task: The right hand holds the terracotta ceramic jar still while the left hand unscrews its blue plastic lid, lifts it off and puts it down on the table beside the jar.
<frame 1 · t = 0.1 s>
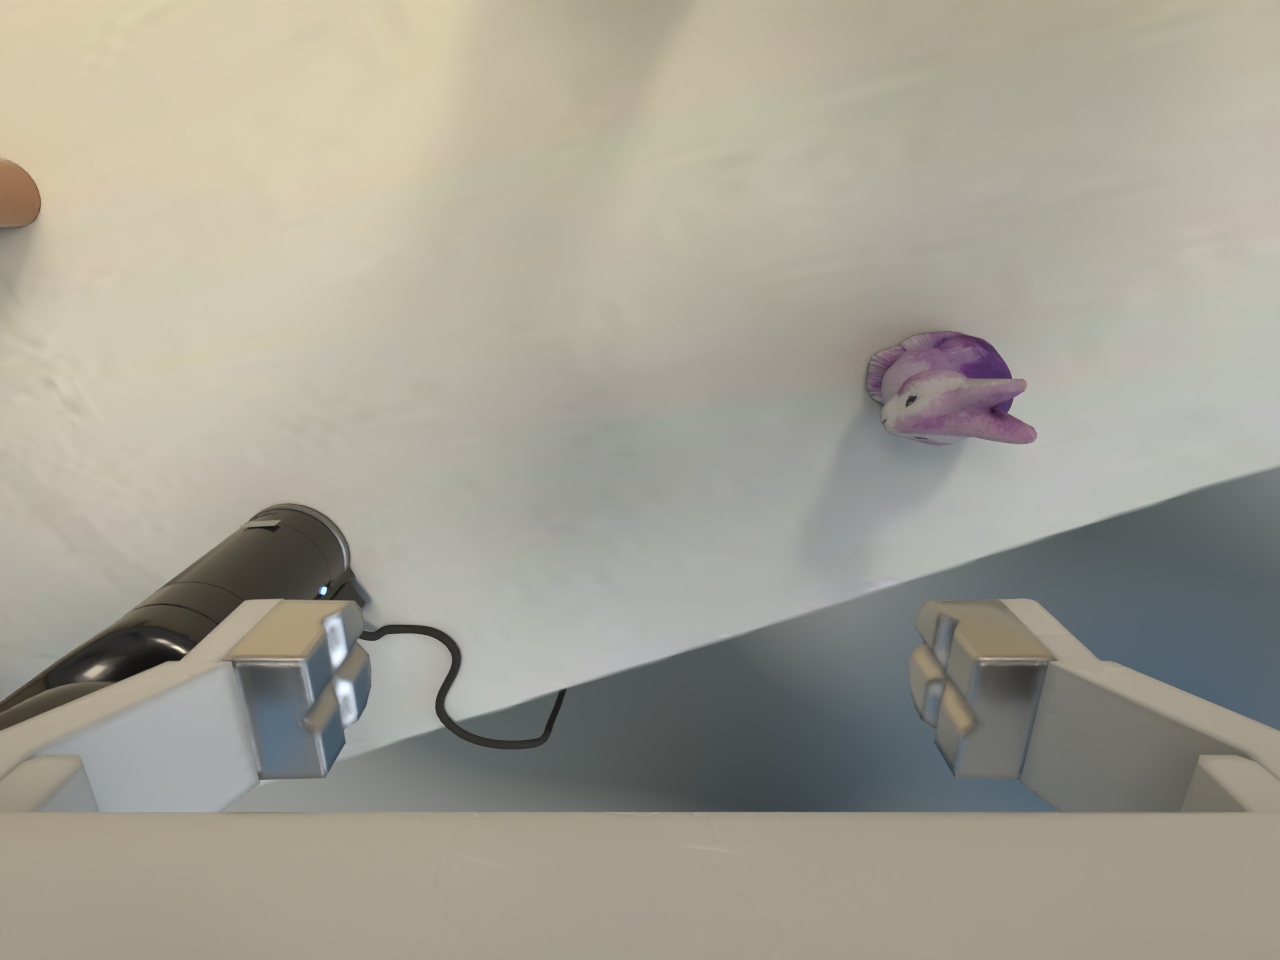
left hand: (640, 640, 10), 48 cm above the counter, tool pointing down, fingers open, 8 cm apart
jar: (7, 193, 53), on the counter
figurine: (918, 381, 57), on the counter
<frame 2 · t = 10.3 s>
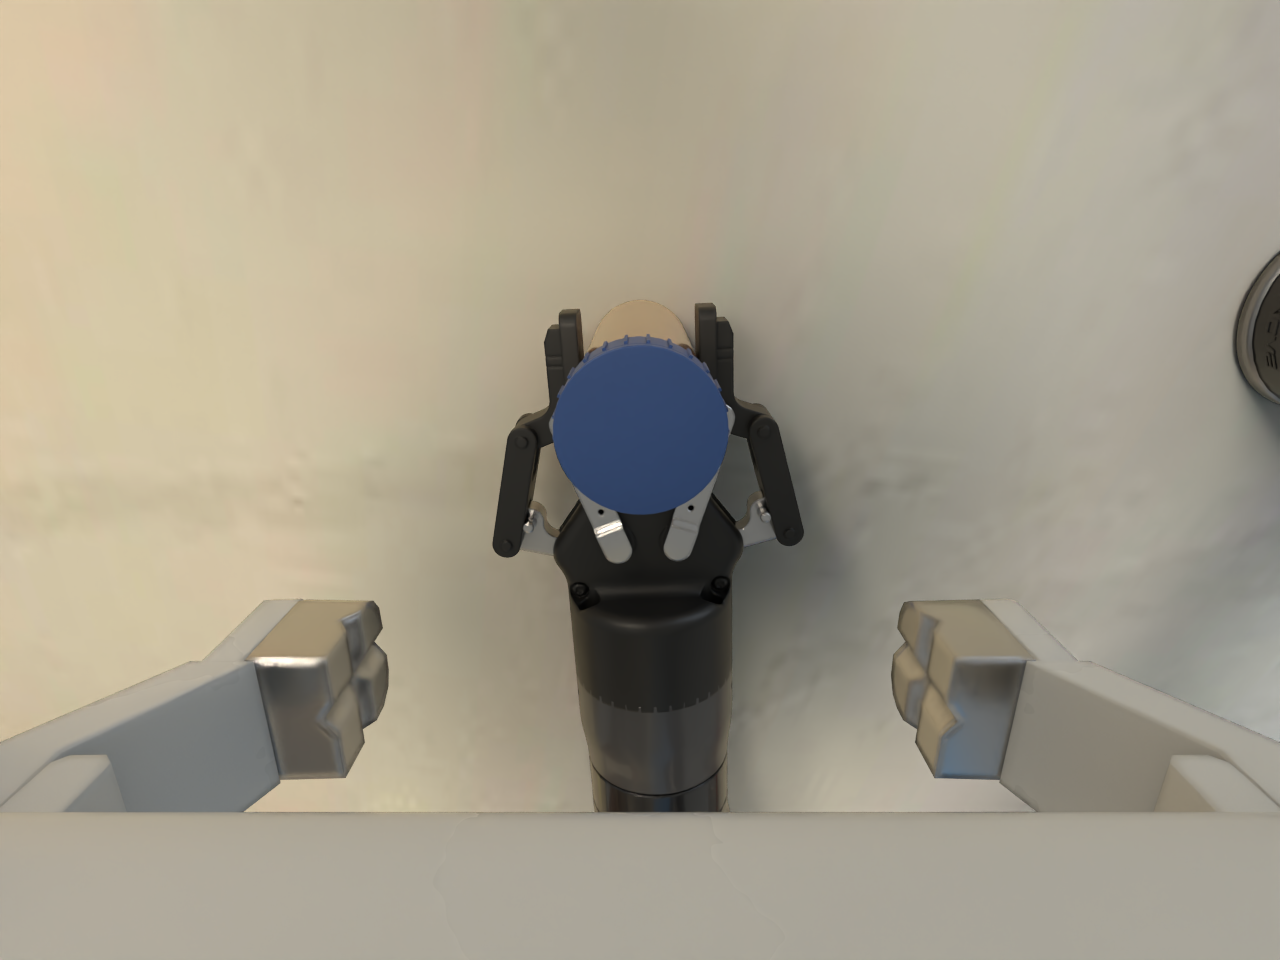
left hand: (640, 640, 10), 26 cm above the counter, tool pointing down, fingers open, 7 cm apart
right hand: (636, 310, 28), fingers closed on jar, 5 cm apart
jar: (640, 348, 35), on the counter, touching right hand
lid: (640, 430, 21), point 15 cm above the counter, screwed on, not yet turned
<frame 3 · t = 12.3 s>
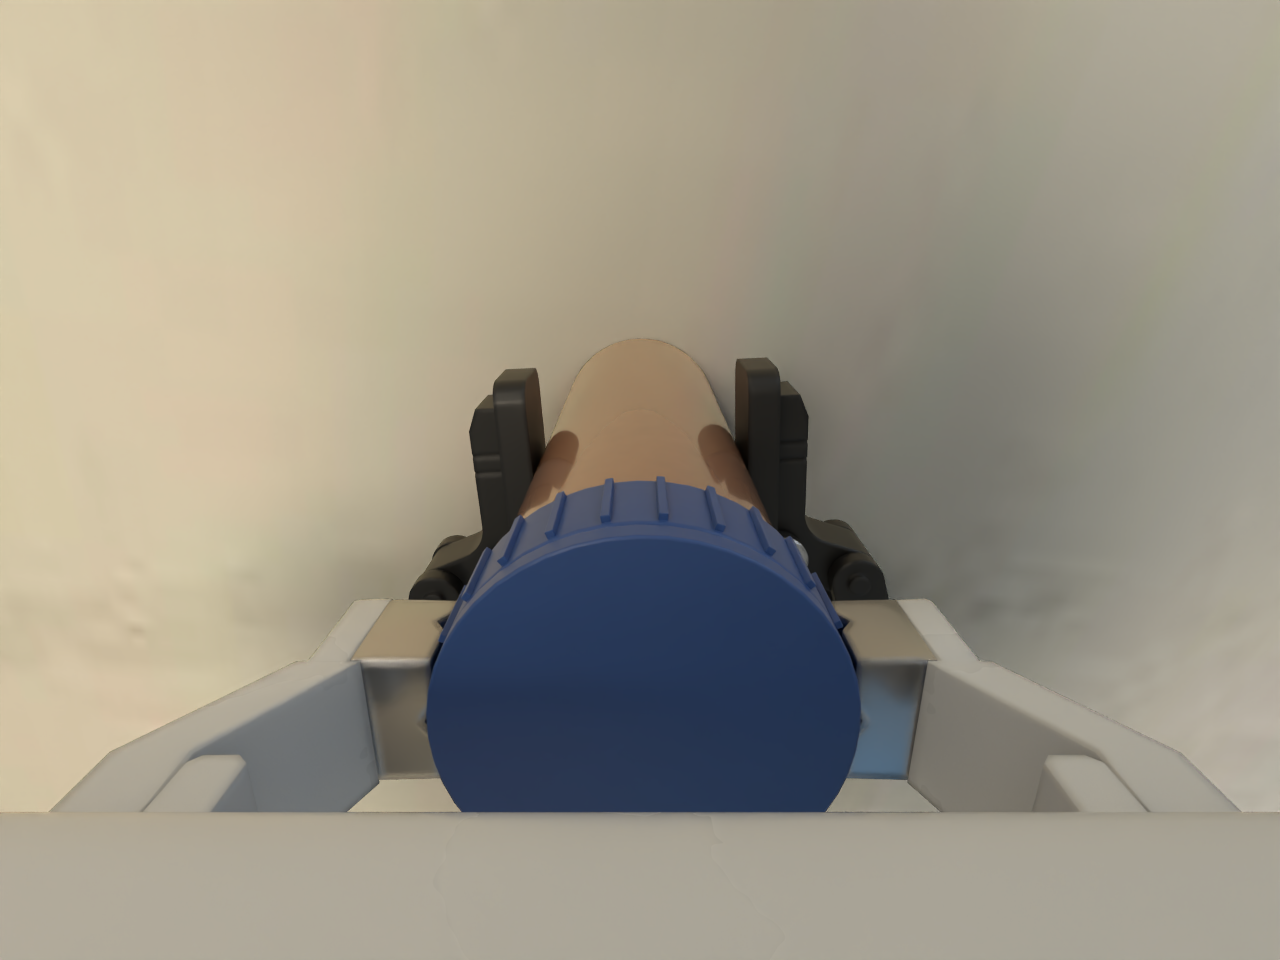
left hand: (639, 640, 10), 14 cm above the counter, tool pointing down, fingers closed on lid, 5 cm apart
jar: (641, 411, 23), on the counter, touching right hand
lid: (643, 715, 9), point 15 cm above the counter, screwed on, not yet turned, touching left hand
when the left hand's fingers open (14 cm above the counter, at t = 13.9 s): lid stays where it is, point 15 cm above the counter.
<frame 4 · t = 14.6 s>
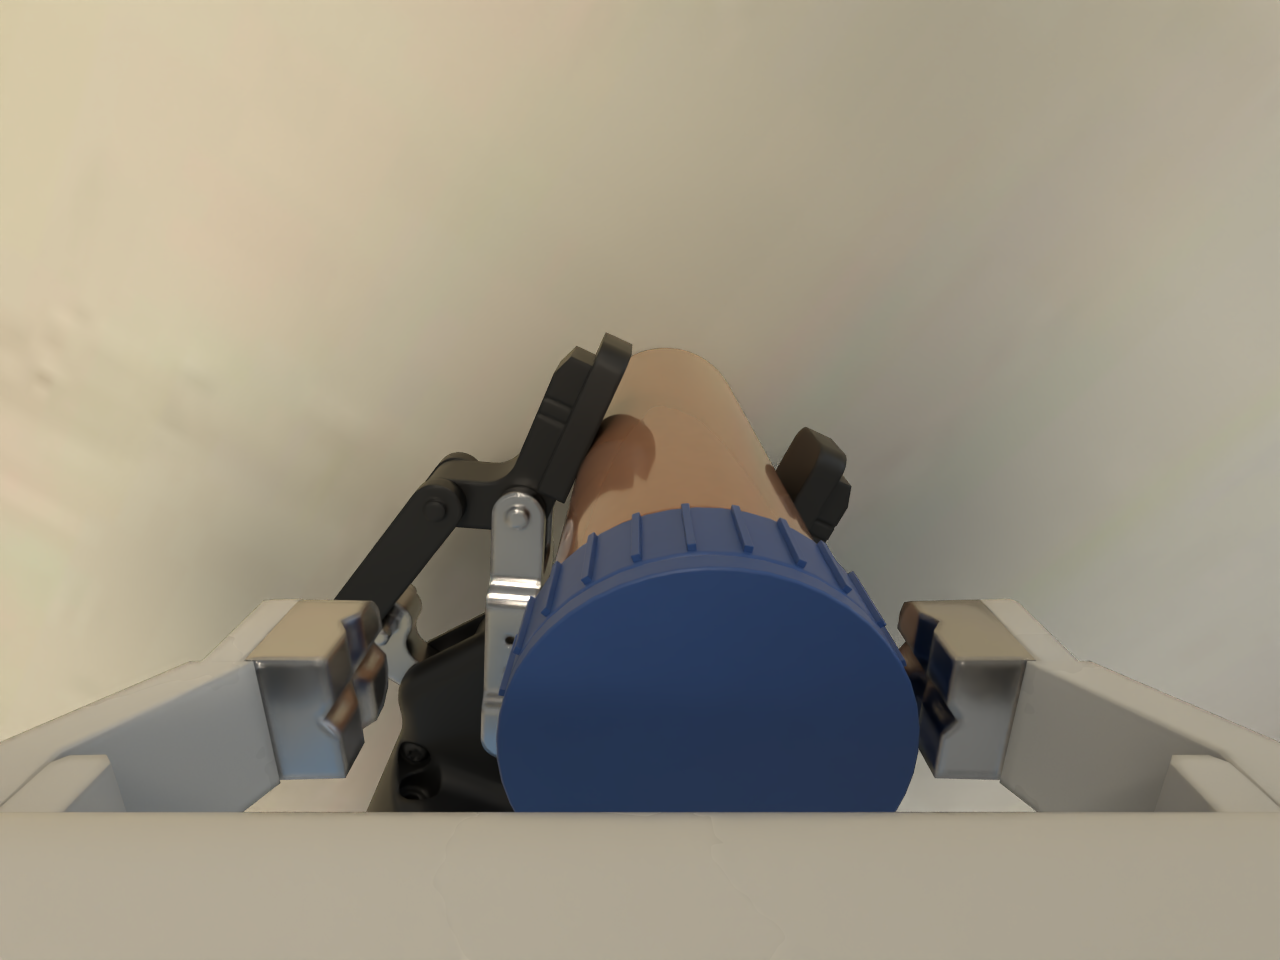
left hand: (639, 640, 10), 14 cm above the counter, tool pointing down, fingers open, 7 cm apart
jar: (664, 419, 23), on the counter, touching right hand
lid: (704, 737, 9), point 15 cm above the counter, turned 95° so far, risen 0.2 cm, still on its thread
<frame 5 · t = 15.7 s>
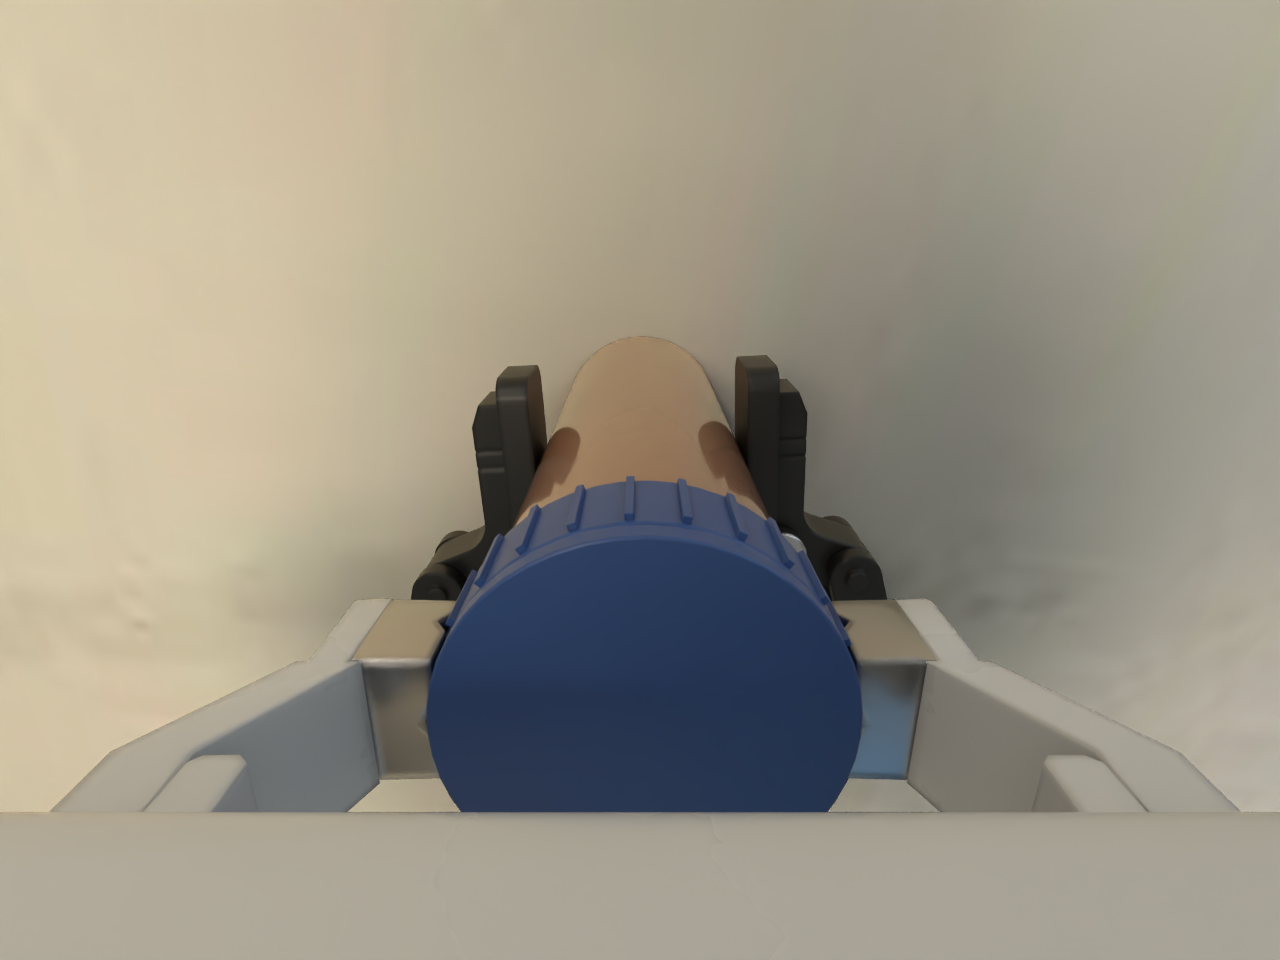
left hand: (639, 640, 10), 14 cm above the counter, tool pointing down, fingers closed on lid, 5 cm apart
jar: (641, 409, 23), on the counter, touching right hand
lid: (644, 715, 9), point 15 cm above the counter, turned 95° so far, risen 0.2 cm, still on its thread, touching left hand
when the left hand's fingers open (2 cm above the counter, at t = 21.9 s): lid drops 2 cm, point 1 cm above the counter.
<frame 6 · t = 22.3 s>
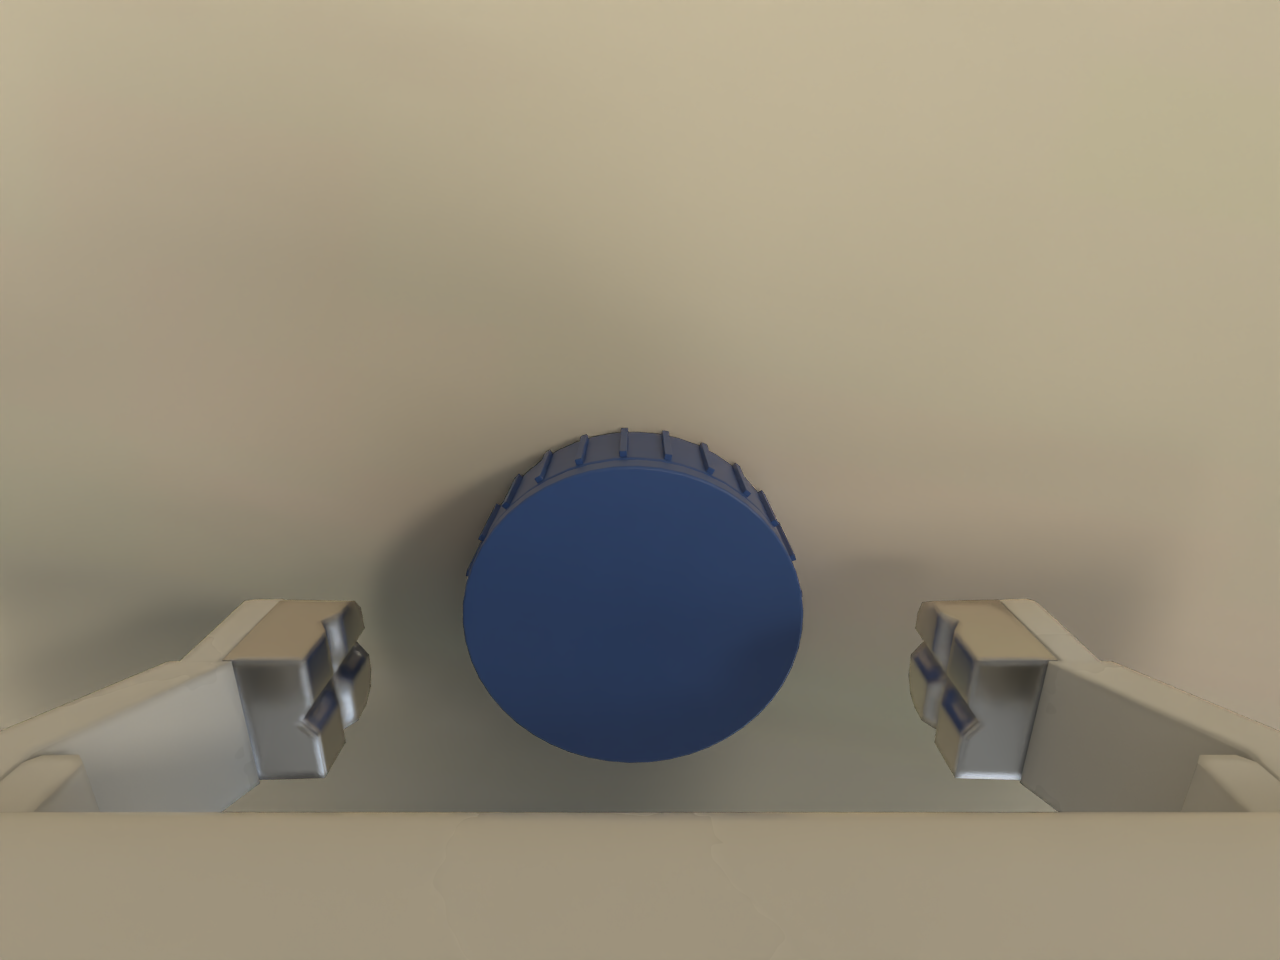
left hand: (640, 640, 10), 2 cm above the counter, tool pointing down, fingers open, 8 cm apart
lid: (633, 615, 11), point 1 cm above the counter, off its thread
when the right hand's fingers open (7 cm above the counter, at t = 22.9 s): jar stays where it is, on the counter.
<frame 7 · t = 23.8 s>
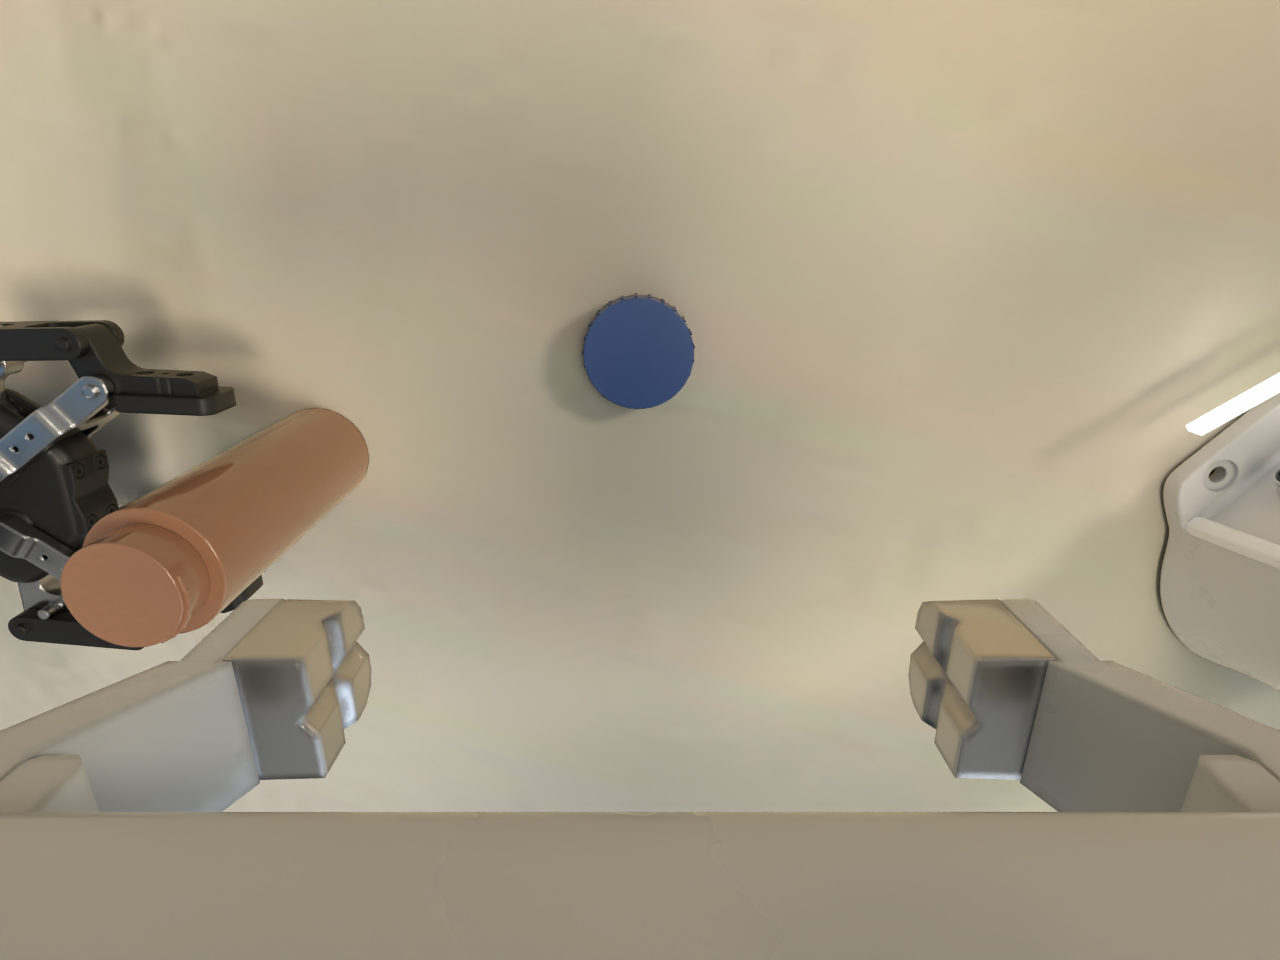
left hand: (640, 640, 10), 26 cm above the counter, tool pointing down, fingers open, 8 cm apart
jar: (322, 452, 36), on the counter
lid: (638, 353, 33), point 1 cm above the counter, off its thread
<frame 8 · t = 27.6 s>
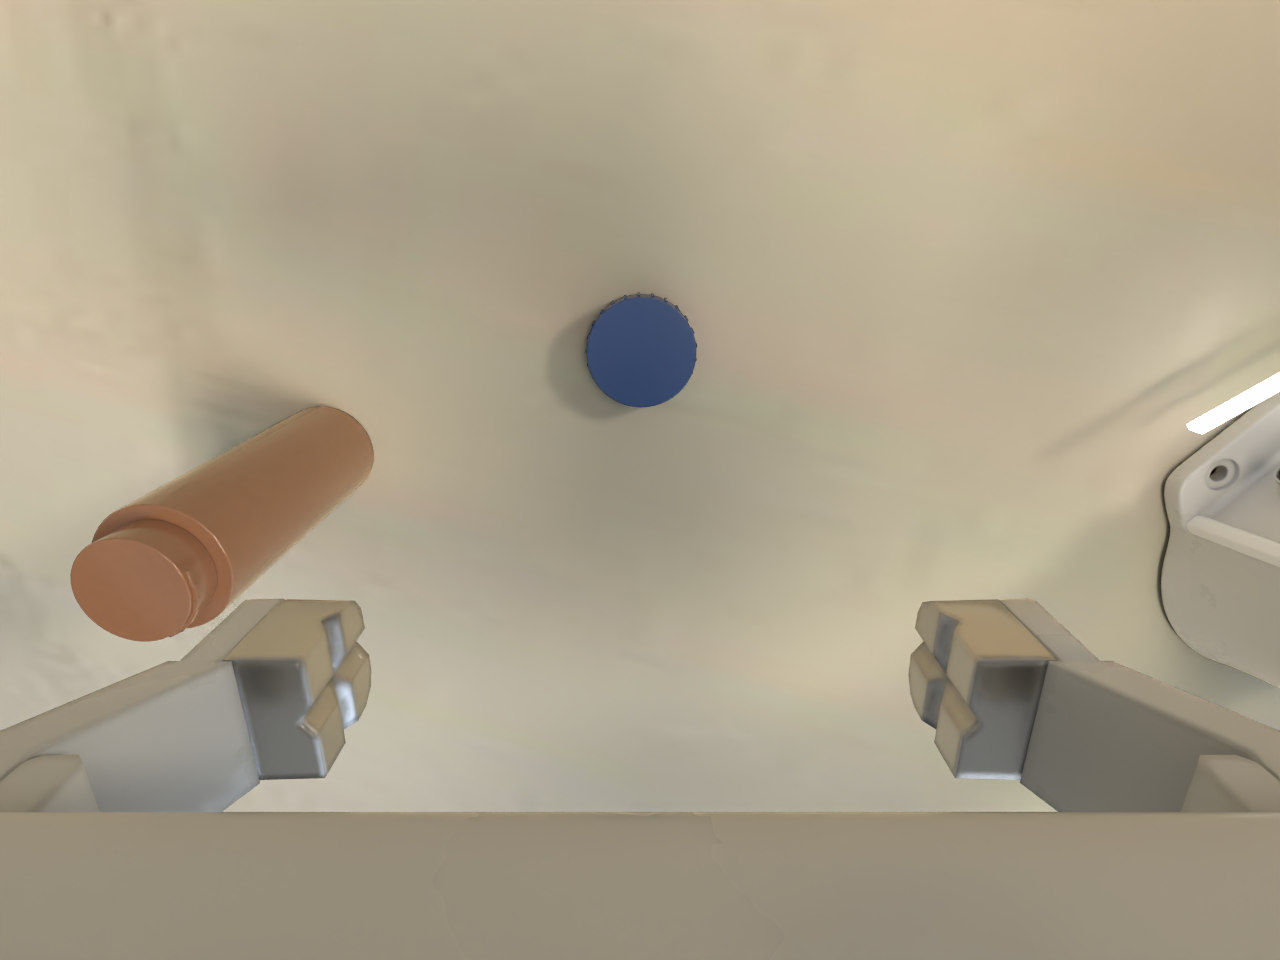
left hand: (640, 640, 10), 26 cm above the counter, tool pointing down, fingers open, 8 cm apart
jar: (328, 450, 37), on the counter
lid: (641, 352, 33), point 1 cm above the counter, off its thread
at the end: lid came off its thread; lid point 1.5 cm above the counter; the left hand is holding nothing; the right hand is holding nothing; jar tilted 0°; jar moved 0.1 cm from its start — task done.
